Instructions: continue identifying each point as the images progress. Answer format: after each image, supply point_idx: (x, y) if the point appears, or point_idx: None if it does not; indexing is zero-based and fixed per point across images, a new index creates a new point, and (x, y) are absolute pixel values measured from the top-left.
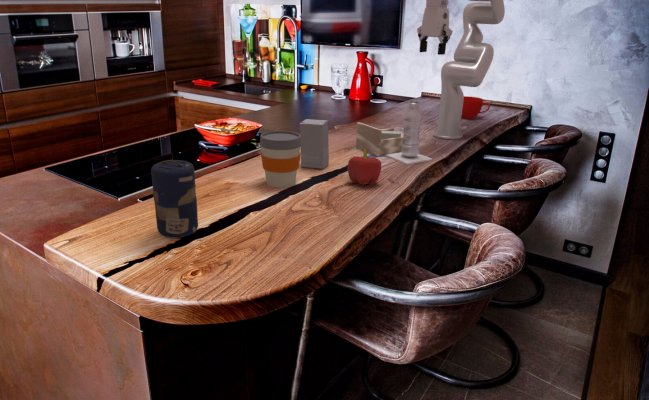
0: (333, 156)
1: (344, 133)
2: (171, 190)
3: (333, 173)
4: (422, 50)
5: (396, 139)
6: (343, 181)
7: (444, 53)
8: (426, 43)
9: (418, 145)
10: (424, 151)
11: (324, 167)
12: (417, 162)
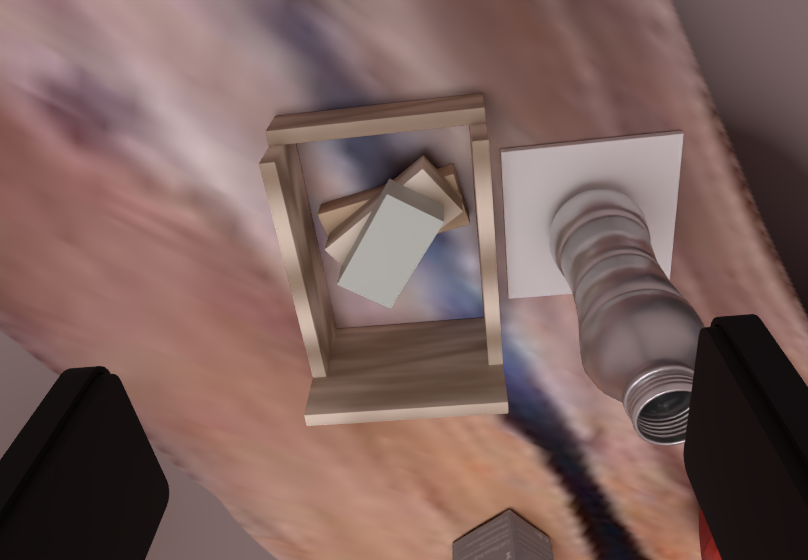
0: (420, 459)
1: (38, 266)
2: None
3: (600, 527)
4: (148, 487)
5: (496, 273)
6: (685, 533)
7: (758, 336)
8: (32, 556)
9: (644, 227)
10: (521, 59)
11: (538, 530)
12: (672, 226)
